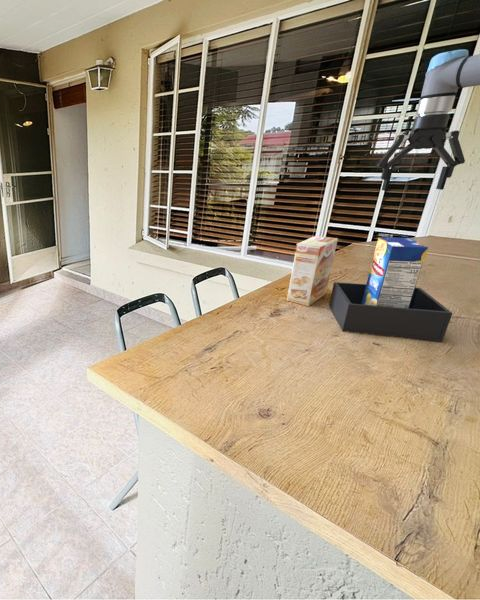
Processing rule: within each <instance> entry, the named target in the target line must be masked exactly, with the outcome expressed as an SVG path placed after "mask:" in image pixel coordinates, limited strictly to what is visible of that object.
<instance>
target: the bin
mask: <svg viewBox="0 0 480 600" xmlns="http://www.w3.org/2000/svg"><path fill="white" fill-rule="evenodd" d="M365 287H366V283H354V282H353V283H352V282H339V281H338V282H337V281H333V284H332V289H331V294H330V297H329V303H328V307H329V309H330V311H331V313H332V314H333V317H334V316H335V317H334V318H335V320H336V322H337V324H338V326H339V325H340V326H339V328H340V327H341V328H340V330H341V329H342V330H341V332H345V331H349V332H348V333H354V332H359V333H358V334H363V333H368V334H367V335H372V334H374V335H373V336H381V335H383V336H384V337H390V336H394V337H393V338H399V337H403V338H402V339H408V338H410V339H409V340H417V339H418V341H426V340H427V341H428V342H435V341H436V342H435V343H437V342H438V343H443V340H444V337H445V336H446V332H447V330H448V327H449V324H450V322H451V319H452V316H453V312H452V311H451V310H450V309H448V308H447V307H445V306H444V305H443V304H441V303H440V302H439V301H438V300H437V299H435V298H434V297H433V296H431V295H430V294H429V293H428V292H427V291H425V290H424V289H423V288H421V287H417V286H416V287H415V290H414V294H413V297H412V300H411V303H410V306H409V308H398V307H386V306H374V305H362V304H361V303H362V299H363V295H364V291H365ZM383 336H382V337H383Z"/></svg>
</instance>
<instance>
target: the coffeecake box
mask: <svg viewBox="0 0 480 600" xmlns="http://www.w3.org/2000/svg"><path fill="white" fill-rule="evenodd" d="M338 240H339V238H338V237H331V236H321V235H314V236H312V237H310V238H307V239H305V240H302V241H300V242H298V243H296V249H295V253H294V259H293V262H292V263H293V264H292V269H291V274H290V280H289V286H288V292H287V297H286V302H291V303H295V304H299V305H302V306H306V307H309V306H311V305H312V304H314V303H315V302H316V301H318V300H320V299H321V298H323V297H324V296H325V295H326V293H327V289H328V284H329V280H330V276H331V272H332V266H333V263H334V257H335V253H336V249H337V244H338Z"/></svg>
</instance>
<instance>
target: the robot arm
mask: <svg viewBox="0 0 480 600" xmlns="http://www.w3.org/2000/svg"><path fill="white" fill-rule="evenodd" d="M478 86H480V53H479V54H475V55H469V50H468V49H463V48H462V49H454V50H450V51H444V52H440V53H437V54H435V55H434V56H433V57H431V59H430V61H429V65H428V68H427V71H426V72H425V78H424V82H423V86H422V90H421V94H420V97H419V100H418V105H417V108H416V112H415V115H417V116H416V117H415V118H414V119H413V122H412V127H411V131H410V133H409V134H402V133H401V134H397V136H396V137H395V140H394V142H393V144H392V145H391V146H390V147H389V149H388V150H387V151H386V152H385V153H384V155H383V156H382V157H381V159H380V160H379V161H378V162H377V164H376V167H377V168H380V169H382V171H381V176H380V180H383V183H382V185H381V186H382V187H381V191H385V192H387V191H389V190H388V189H389V186H390V182H391V178H392V174H393V168H392V167H394V165H396V163H398V162H399V161H400V160H401V159H403V158H404V157H405V156H406V155H408V154H409V152H411V151H413V150H423V149H425V150H428V149H429V150H430V149H433V150H434V151H435V152H436V153H437V154H438V156H439V158H440V159H441V160H442V161H443V163H444V164H445V166H442V168H441V171H440V175H439V178H438V182H437V185H436V187H435V189H436V190H439V191H440V190H441V191H442V190H444V188H445V185H446V182H447V179H448V178H449V179H451V177H452V175H453V172H454V170H455V167H457V166H459V165H462V164H465V163H466V159H465V156H464V153H463V150H462V146H461V143H460V140H459V136H460V131H459V130H451V131H449V132H446V129H447V126H448V122H449V119H450V116H451V115H450V114H449V113H450V112H451V111H452V110H453V106H454V103H455V99H456V95H457V92H458V90H459V89H465V88H471V87H478ZM445 137H446V140H448V143H449V147H450V150H451V153H452V155H451V154H450V153H449V152H448V151H447V150H446V148H445V147H444V144H443V143H442V142H441V141H442V140H443V139H445ZM406 140H407V141H408V142H409V143H408V144H407V145H406V146H405V147H403V149H402V150H400V151H399V152H398V153H397V154H396V155H395V156H393V155H394V154H395V153H396V151H397V150H398V149H399V147H400V146H401V145H402V143H405V142H406ZM392 156H393V157H392ZM452 156H453V157H452Z"/></svg>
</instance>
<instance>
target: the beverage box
mask: <svg viewBox="0 0 480 600" xmlns="http://www.w3.org/2000/svg"><path fill="white" fill-rule="evenodd" d="M375 245H376V246H375V249H374V253H373V257H372V261H371V264H370V268H369V272H368V275H367V279H366V280H367V281H366V283H365V284H366V287H365V291H364V295H363V299H362V303H361V304H362V305H374V306H386V307H398V308H409V306H410V303H411V300H412V297H413V294H414V290H415V287H416V288H417V283H418V281H419V277H420V274H421V271H422V268H423V265H424V261H425V259H426V256H427V252H428V250H429V247H428V246H426V245H424V244H422V243H421V242H419V241H417V240H415V239H414V238H411V237H385V236H384V237H382V236H381V237H380V236H378V237H377V241H376V244H375Z"/></svg>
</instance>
